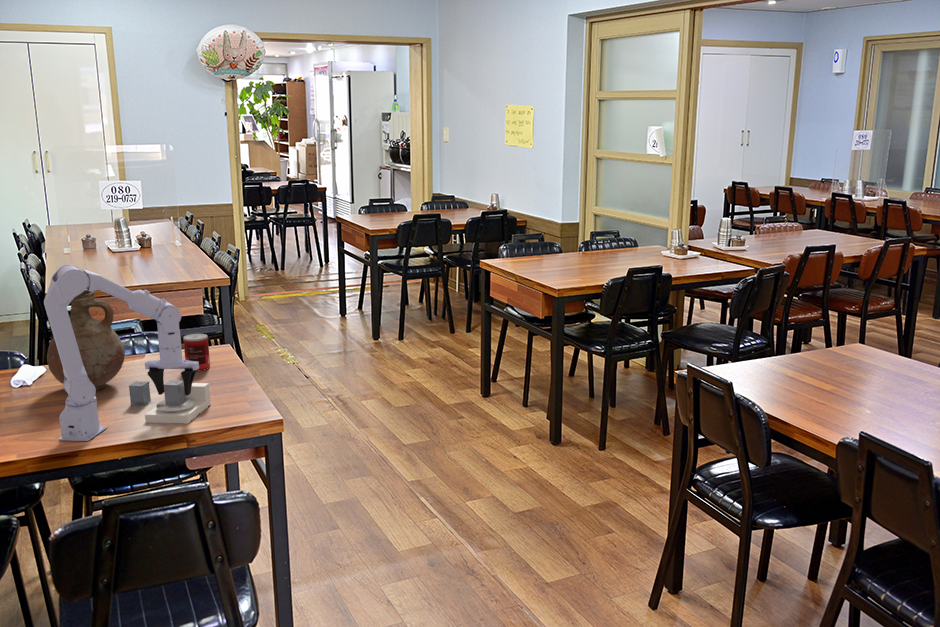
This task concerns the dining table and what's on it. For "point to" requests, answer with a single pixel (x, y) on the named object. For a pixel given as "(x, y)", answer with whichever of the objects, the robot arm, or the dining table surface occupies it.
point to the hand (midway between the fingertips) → (174, 393)
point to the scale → (202, 401)
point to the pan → (186, 405)
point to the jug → (91, 342)
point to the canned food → (197, 349)
